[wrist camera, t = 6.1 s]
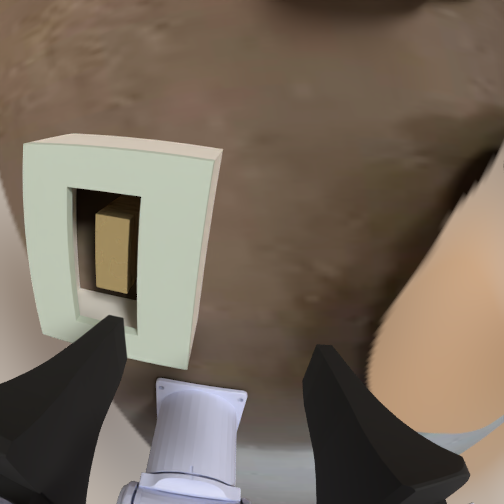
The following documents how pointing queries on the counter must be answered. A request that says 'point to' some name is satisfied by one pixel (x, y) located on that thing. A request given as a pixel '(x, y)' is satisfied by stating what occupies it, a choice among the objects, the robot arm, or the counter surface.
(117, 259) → the tan rectangular block
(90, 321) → the box
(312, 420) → the robot arm
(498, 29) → the counter surface
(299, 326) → the counter surface
